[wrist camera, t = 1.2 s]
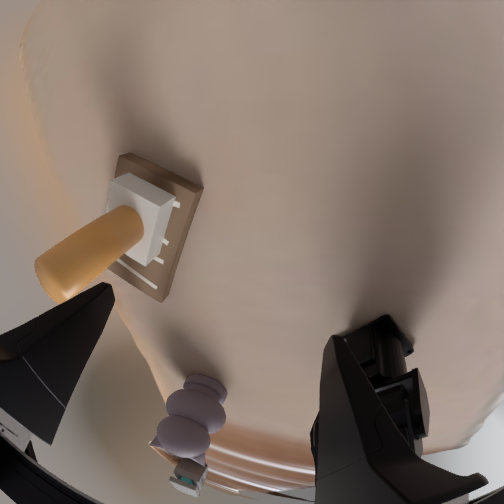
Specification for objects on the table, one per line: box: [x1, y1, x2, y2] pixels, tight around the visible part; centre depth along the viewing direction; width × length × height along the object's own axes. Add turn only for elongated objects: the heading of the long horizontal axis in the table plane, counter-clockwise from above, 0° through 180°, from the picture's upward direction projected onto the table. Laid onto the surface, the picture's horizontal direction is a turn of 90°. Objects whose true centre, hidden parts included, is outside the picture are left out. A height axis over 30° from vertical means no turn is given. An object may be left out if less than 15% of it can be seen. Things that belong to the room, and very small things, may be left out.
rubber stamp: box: [35, 173, 176, 304], centre depth 18 cm, size 5×6×11 cm
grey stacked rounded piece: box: [150, 374, 227, 466], centre depth 31 cm, size 8×8×12 cm
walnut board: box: [108, 153, 204, 303], centre depth 24 cm, size 8×13×2 cm, turn 156°
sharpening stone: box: [169, 458, 208, 498], centre depth 63 cm, size 25×8×11 cm, turn 172°
